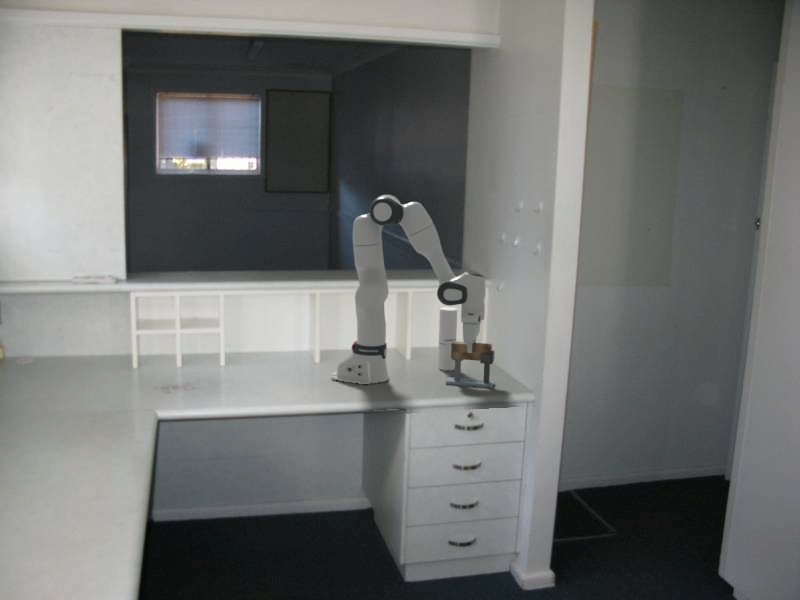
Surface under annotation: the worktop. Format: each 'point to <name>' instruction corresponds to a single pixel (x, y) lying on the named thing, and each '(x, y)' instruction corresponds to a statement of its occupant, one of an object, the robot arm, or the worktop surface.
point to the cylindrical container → (447, 337)
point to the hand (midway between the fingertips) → (471, 349)
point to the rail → (461, 353)
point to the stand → (486, 382)
